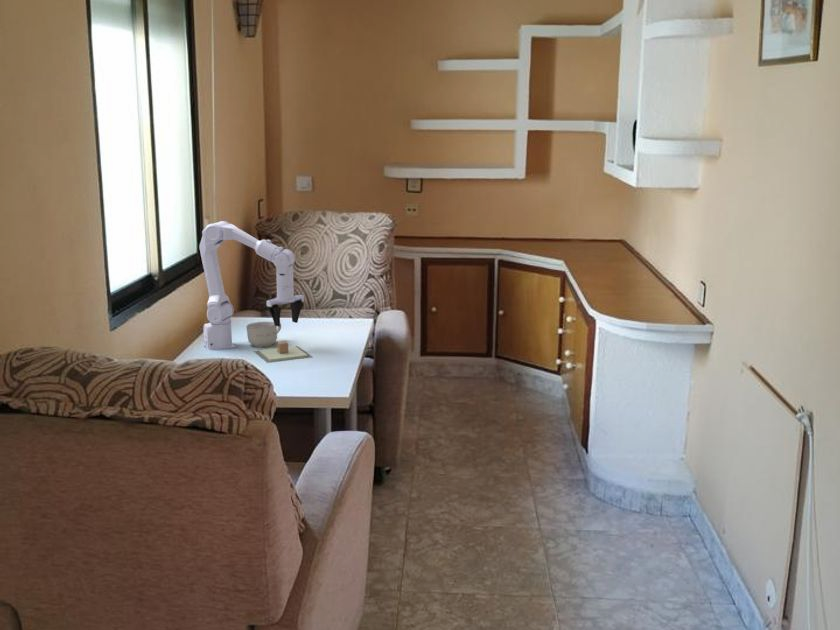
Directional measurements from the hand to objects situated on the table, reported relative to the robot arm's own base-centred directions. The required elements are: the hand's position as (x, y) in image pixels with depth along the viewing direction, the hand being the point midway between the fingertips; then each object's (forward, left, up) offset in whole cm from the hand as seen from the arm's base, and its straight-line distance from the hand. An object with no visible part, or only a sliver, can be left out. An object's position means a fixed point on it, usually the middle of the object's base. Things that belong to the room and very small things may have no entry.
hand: (286, 324), depth 292 cm
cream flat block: (-3, -5, -9) cm, 11 cm away
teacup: (-4, +11, -10) cm, 15 cm away
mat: (-3, -5, -10) cm, 11 cm away
